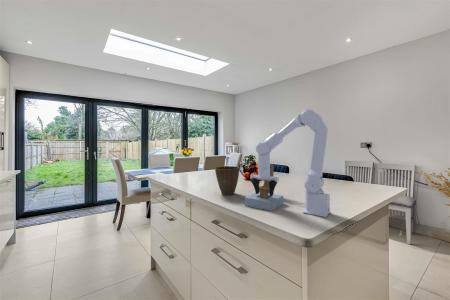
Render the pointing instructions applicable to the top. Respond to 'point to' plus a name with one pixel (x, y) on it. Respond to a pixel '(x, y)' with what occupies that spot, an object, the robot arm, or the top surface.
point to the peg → (264, 193)
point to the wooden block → (266, 182)
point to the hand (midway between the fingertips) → (264, 194)
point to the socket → (264, 201)
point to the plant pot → (227, 179)
